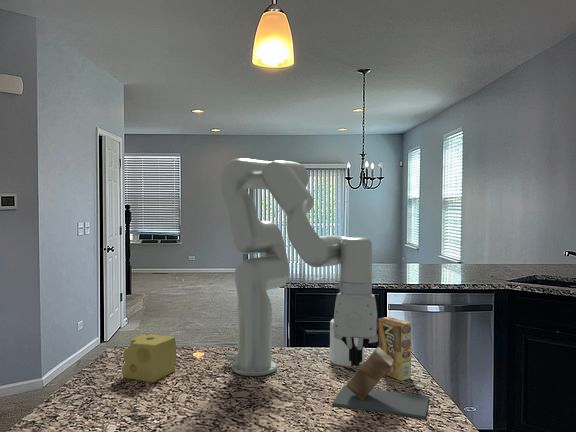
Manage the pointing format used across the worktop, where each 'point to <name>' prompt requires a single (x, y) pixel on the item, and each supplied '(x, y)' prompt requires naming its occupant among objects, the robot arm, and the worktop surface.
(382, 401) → the mat
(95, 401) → the worktop surface
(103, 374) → the worktop surface
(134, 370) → the cheese
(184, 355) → the worktop surface
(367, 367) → the walnut block
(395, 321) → the candy box
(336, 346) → the toilet paper
